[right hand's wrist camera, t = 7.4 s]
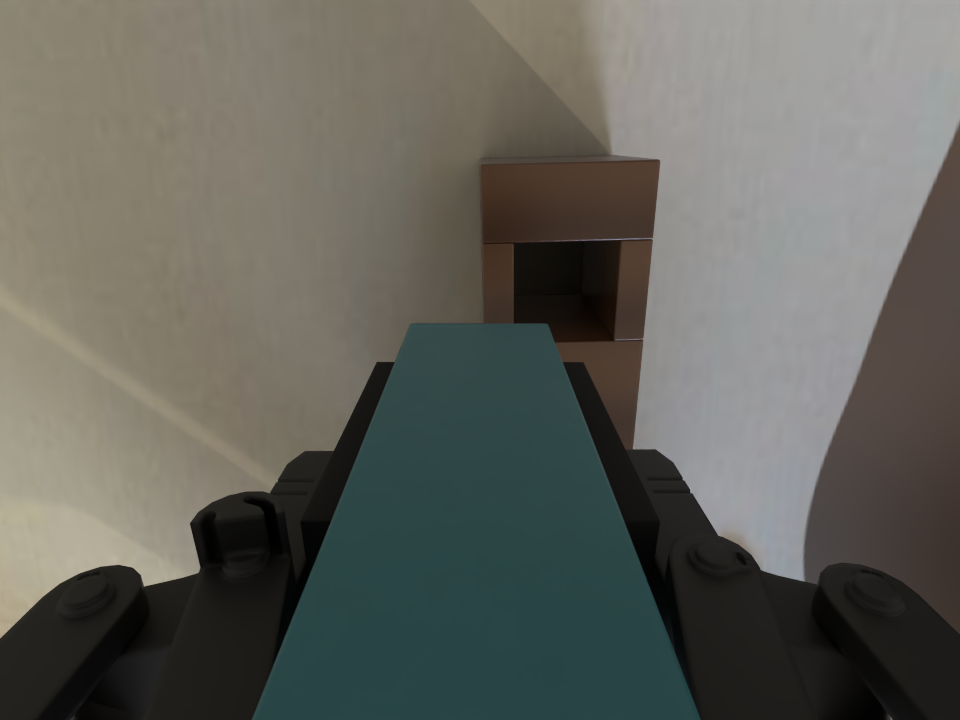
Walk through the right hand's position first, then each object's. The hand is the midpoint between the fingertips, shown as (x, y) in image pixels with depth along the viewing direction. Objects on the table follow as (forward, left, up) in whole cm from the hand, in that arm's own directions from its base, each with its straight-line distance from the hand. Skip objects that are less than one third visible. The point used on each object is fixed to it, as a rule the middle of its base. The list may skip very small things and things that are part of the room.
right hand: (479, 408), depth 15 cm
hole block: (+7, +6, -21) cm, 23 cm away
